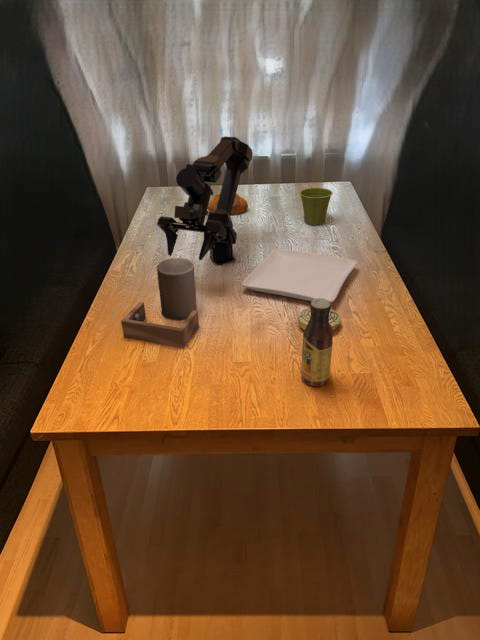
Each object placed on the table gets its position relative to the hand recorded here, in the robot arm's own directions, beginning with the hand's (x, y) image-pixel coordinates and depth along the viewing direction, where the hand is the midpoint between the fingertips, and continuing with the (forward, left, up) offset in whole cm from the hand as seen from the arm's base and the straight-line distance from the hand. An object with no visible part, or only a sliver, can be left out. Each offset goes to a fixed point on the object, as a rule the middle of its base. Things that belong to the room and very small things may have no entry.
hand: (184, 257), depth 143 cm
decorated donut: (-24, +31, -13) cm, 41 cm away
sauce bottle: (-11, +49, -12) cm, 51 cm away
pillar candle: (+5, +6, -12) cm, 15 cm away
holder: (+12, +14, -12) cm, 22 cm away
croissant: (-40, -57, -13) cm, 71 cm away
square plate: (-33, +8, -13) cm, 36 cm away
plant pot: (-62, -29, -12) cm, 69 cm away
